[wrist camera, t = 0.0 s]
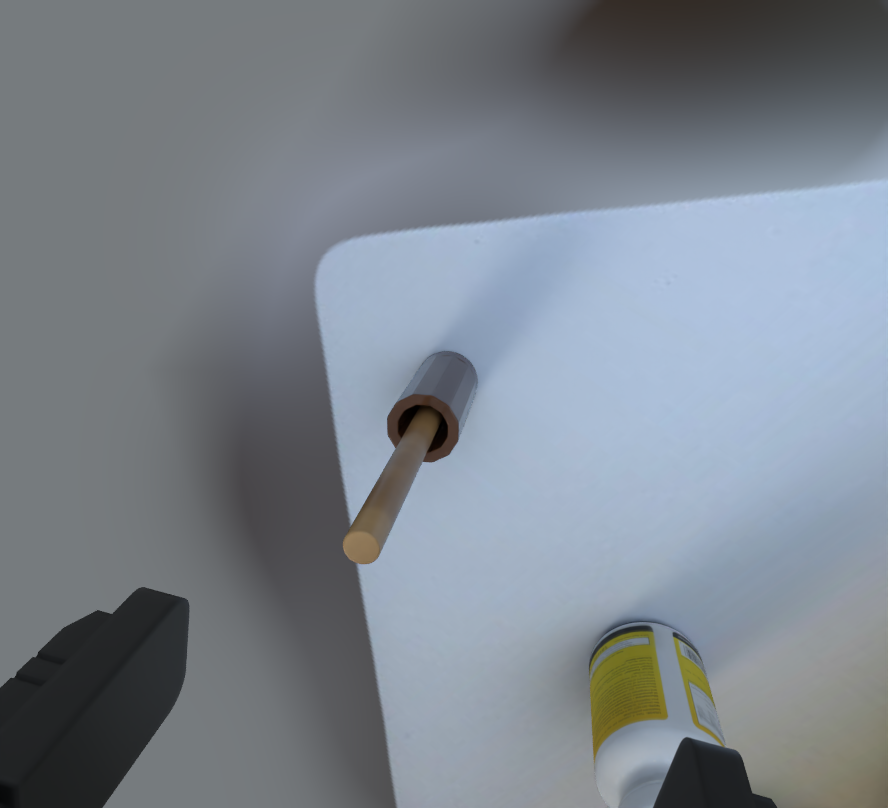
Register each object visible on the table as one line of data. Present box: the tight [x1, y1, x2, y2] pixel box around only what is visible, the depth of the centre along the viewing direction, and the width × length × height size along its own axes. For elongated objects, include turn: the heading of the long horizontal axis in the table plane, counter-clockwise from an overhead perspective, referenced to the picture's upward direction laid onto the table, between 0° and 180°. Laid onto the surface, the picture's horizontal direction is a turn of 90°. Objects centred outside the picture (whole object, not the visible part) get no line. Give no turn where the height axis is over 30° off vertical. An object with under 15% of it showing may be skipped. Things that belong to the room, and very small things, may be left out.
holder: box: [387, 351, 478, 462], centre depth 34 cm, size 3×3×7 cm
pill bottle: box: [589, 622, 727, 808], centre depth 35 cm, size 6×6×12 cm
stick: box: [343, 405, 443, 564], centre depth 29 cm, size 1×1×16 cm
